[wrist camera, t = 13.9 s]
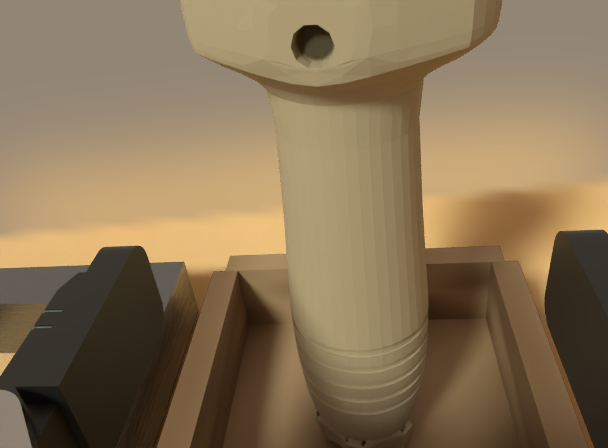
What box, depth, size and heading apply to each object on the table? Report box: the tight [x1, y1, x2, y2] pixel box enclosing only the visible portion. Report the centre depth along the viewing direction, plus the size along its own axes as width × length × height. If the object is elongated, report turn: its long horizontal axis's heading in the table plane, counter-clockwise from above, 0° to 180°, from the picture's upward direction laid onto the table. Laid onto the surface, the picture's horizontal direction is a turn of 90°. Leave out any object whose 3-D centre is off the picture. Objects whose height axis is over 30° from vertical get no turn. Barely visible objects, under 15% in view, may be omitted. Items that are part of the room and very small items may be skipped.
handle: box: [180, 0, 502, 448], centre depth 16 cm, size 5×6×15 cm
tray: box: [157, 246, 589, 448], centre depth 19 cm, size 14×14×4 cm
